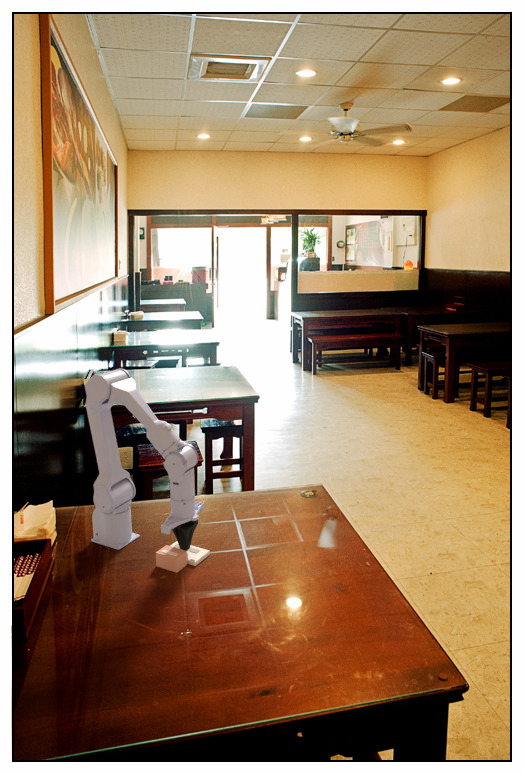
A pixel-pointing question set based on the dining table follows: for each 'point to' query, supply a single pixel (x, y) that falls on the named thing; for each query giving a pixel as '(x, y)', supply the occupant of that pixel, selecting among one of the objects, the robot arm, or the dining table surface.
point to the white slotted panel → (194, 554)
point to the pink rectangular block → (171, 558)
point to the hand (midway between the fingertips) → (184, 548)
